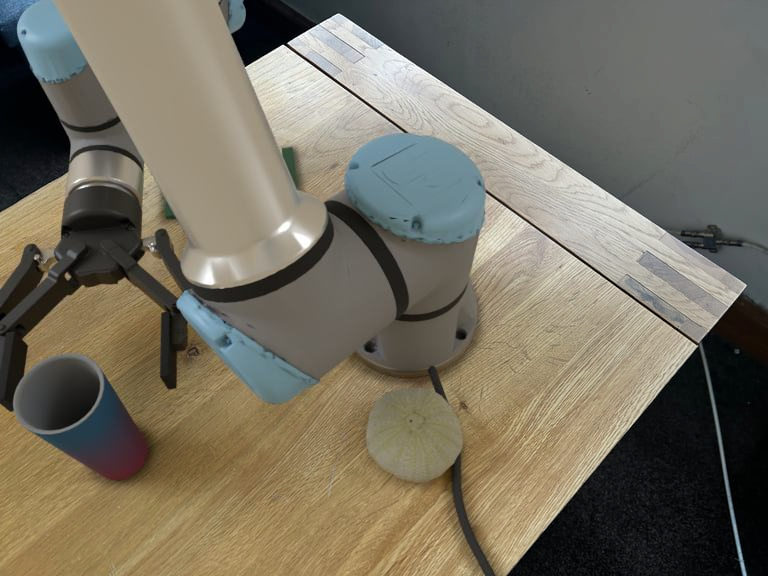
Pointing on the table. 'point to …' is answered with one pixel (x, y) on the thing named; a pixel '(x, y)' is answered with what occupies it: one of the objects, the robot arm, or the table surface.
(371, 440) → the sea urchin shell
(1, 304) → the robot arm
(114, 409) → the cup
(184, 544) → the table surface
